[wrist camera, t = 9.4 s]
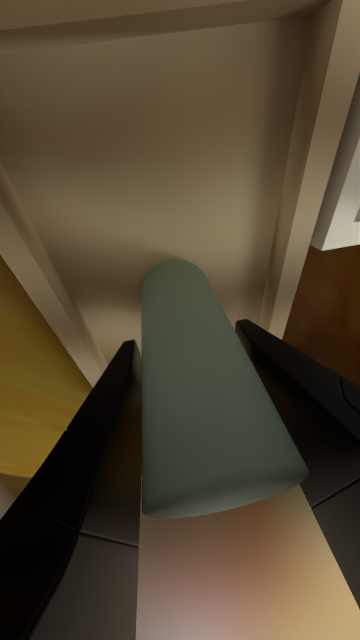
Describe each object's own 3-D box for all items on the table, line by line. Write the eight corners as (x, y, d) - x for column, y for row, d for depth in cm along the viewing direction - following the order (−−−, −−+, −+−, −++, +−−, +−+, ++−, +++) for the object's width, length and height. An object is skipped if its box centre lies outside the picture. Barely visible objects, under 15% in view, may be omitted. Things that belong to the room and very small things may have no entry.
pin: (207, 254, 9) (336, 449, 3) (209, 313, 12) (287, 496, 5) (133, 267, 9) (118, 495, 3) (149, 323, 11) (159, 525, 5)
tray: (-112, 11, 5) (-205, -40, 4) (344, -41, 6) (410, -103, 4) (114, 394, 17) (112, 416, 15) (258, 366, 17) (268, 384, 16)
